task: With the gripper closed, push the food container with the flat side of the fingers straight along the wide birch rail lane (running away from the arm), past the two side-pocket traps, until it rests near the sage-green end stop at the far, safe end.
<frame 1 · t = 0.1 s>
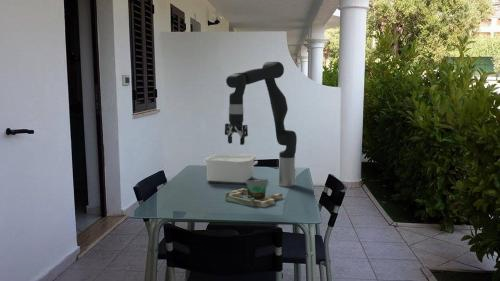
hand: (236, 144, 239), 29 cm above the table, fingers open, 8 cm apart
trap lane: (254, 199, 241), on the table
food container: (257, 198, 244), on the table
pot: (230, 180, 290), on the table
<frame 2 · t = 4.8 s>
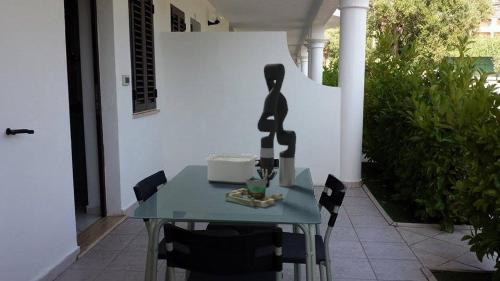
hand: (266, 187, 248), 5 cm above the table, fingers closed
food container: (257, 198, 244), on the table, touching gripper
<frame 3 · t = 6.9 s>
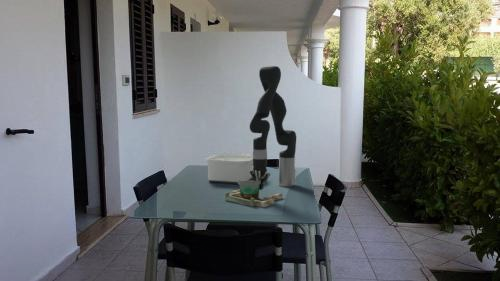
hand: (260, 189, 244), 5 cm above the table, fingers closed
food container: (250, 199, 241), on the table, touching gripper
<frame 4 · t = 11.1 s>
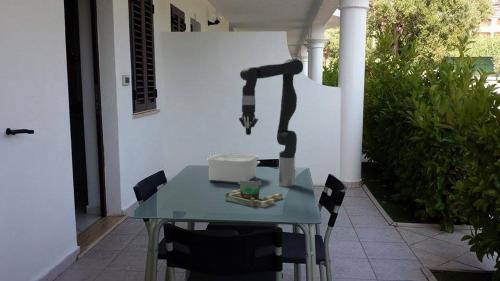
hand: (248, 134, 258), 32 cm above the table, fingers closed
food container: (250, 199, 241), on the table
at the end: food container inside the target area (2.1 cm from its centre), on the table; food container tilted 0° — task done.
